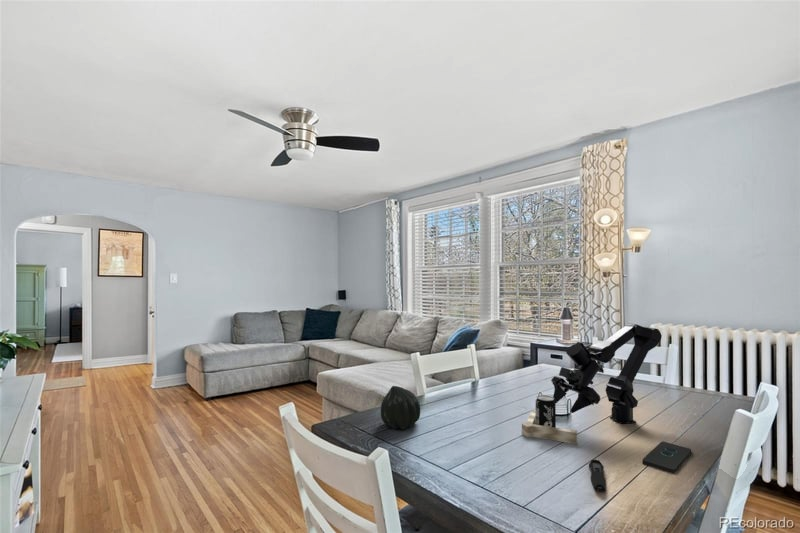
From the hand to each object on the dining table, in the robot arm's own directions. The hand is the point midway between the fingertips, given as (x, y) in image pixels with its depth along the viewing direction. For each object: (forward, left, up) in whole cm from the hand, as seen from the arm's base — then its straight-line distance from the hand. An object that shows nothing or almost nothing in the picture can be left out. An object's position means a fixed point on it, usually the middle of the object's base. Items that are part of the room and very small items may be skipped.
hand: (561, 407), depth 140 cm
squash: (+56, -13, -8) cm, 58 cm away
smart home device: (-19, +25, -8) cm, 33 cm away
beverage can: (+7, +1, -8) cm, 11 cm away
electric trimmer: (+10, +33, -8) cm, 36 cm away
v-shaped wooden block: (+9, +2, -8) cm, 12 cm away
